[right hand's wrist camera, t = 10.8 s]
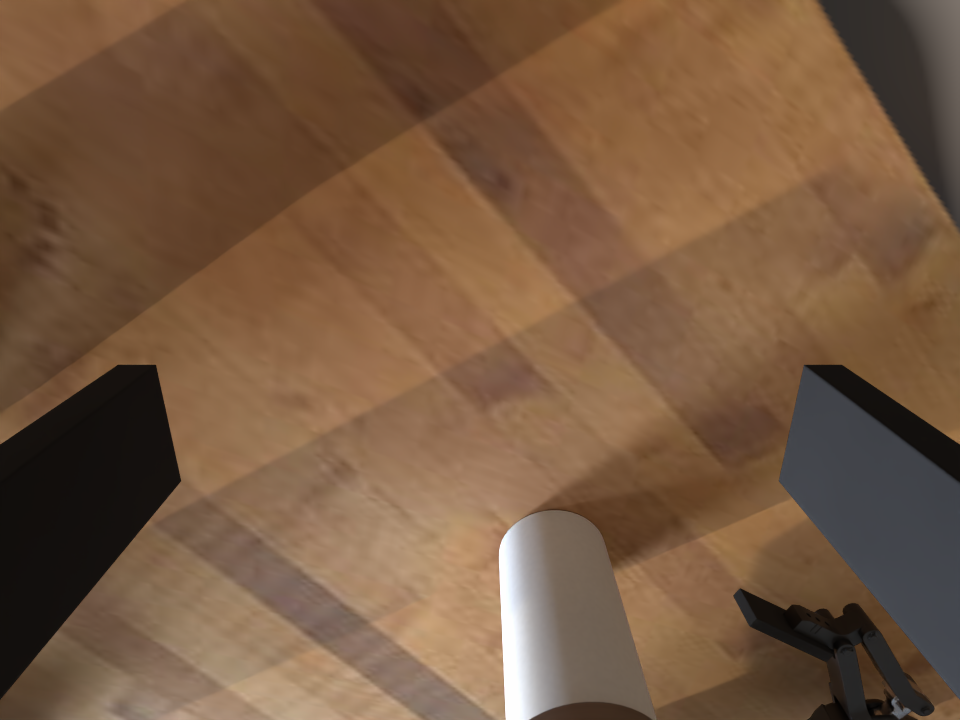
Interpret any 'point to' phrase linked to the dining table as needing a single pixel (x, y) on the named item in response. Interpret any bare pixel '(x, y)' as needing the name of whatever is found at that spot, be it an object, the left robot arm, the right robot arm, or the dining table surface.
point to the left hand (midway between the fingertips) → (683, 671)
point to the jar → (564, 620)
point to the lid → (591, 712)
